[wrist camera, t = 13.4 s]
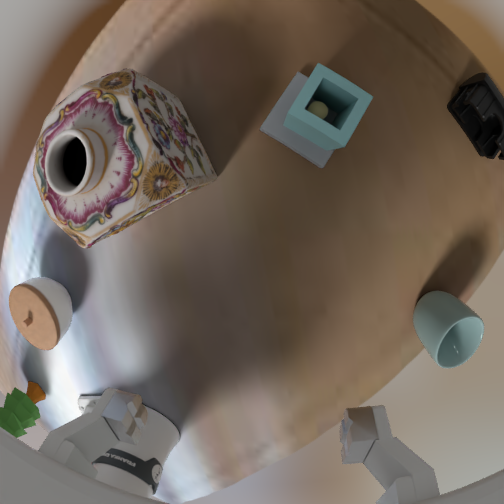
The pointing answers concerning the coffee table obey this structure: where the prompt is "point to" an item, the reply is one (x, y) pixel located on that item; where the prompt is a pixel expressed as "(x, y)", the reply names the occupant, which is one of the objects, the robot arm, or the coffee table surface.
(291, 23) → the coffee table surface
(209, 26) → the coffee table surface
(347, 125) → the collar
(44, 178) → the decorative jar
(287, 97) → the shaft block
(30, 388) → the decorative tree
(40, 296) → the lidded jar
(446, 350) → the cup
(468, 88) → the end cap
